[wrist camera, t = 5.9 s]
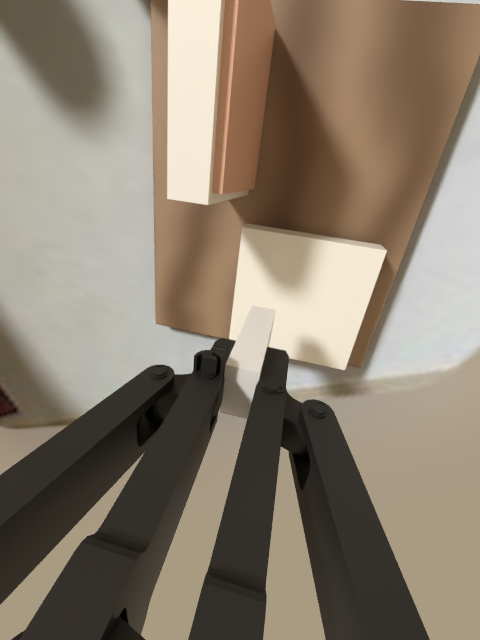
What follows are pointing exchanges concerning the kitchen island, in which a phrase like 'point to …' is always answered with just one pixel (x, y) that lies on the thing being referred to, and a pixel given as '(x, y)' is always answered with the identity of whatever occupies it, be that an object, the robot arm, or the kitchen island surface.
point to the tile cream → (216, 96)
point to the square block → (306, 290)
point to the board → (321, 146)
